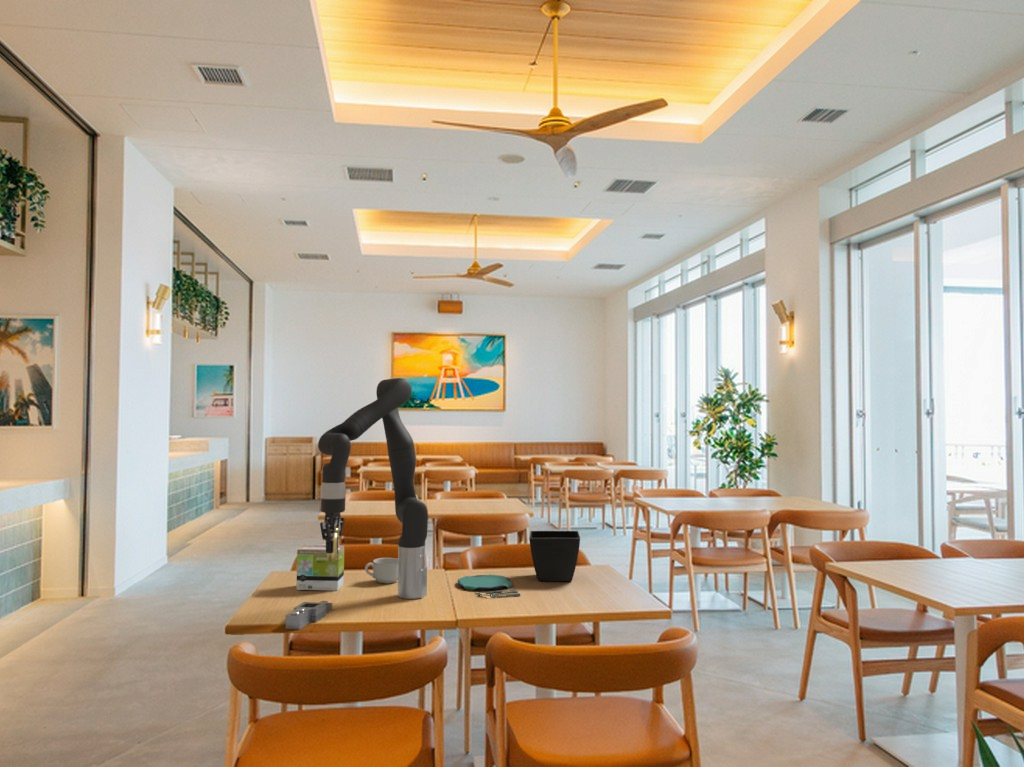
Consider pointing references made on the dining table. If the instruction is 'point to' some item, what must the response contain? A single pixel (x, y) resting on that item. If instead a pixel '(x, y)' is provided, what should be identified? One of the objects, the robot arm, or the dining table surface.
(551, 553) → the flower pot
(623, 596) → the dining table surface
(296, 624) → the grey studded bar
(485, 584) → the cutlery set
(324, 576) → the tea box
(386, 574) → the teacup
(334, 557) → the pin
